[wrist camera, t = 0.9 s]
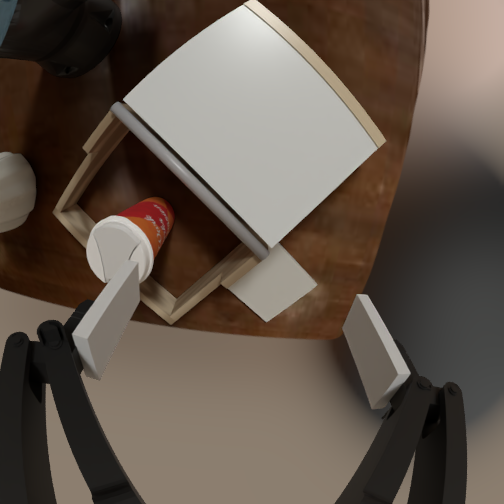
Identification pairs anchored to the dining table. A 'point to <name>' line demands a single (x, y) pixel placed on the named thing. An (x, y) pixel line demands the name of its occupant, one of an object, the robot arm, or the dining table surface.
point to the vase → (15, 190)
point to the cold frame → (150, 290)
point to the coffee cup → (130, 238)
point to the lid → (253, 123)
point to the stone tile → (273, 284)
